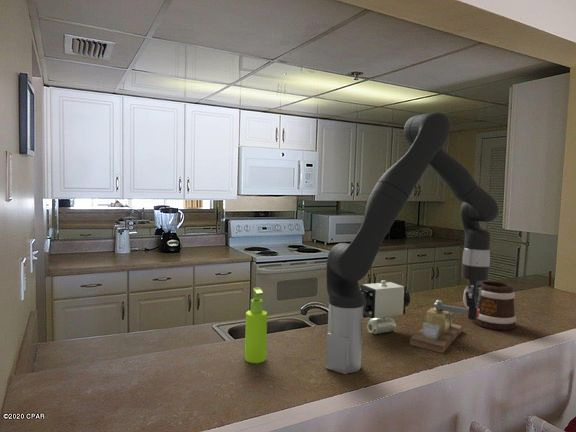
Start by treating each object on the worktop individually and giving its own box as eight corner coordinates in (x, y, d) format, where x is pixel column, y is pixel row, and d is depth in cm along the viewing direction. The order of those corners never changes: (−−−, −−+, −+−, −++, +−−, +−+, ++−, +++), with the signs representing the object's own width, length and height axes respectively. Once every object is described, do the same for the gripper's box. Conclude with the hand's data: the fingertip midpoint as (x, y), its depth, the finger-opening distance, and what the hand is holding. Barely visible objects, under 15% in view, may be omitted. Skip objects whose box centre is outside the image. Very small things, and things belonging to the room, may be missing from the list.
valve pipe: (439, 341, 124) (440, 319, 123) (419, 337, 127) (420, 315, 127) (453, 326, 138) (454, 306, 138) (435, 322, 142) (436, 303, 141)
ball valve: (392, 324, 145) (395, 275, 144) (409, 332, 137) (411, 281, 136) (350, 330, 137) (352, 279, 136) (365, 339, 130) (367, 284, 128)
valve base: (442, 353, 120) (443, 346, 120) (409, 344, 126) (410, 338, 126) (461, 331, 140) (461, 325, 140) (432, 324, 146) (432, 319, 146)
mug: (524, 327, 146) (527, 286, 145) (501, 334, 138) (503, 291, 137) (474, 312, 163) (476, 275, 162) (450, 317, 155) (452, 279, 154)
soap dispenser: (247, 365, 108) (249, 292, 107) (243, 355, 115) (244, 285, 113) (268, 363, 109) (270, 291, 108) (263, 353, 116) (265, 285, 115)
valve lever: (433, 310, 132) (433, 300, 132) (435, 308, 134) (435, 299, 134) (478, 318, 125) (478, 308, 125) (479, 316, 127) (479, 306, 127)
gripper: (485, 267, 116) (482, 327, 117) (492, 262, 127) (489, 316, 127) (458, 264, 120) (454, 321, 121) (466, 259, 131) (463, 312, 132)
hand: (472, 319), depth 124 cm, fingers closed
